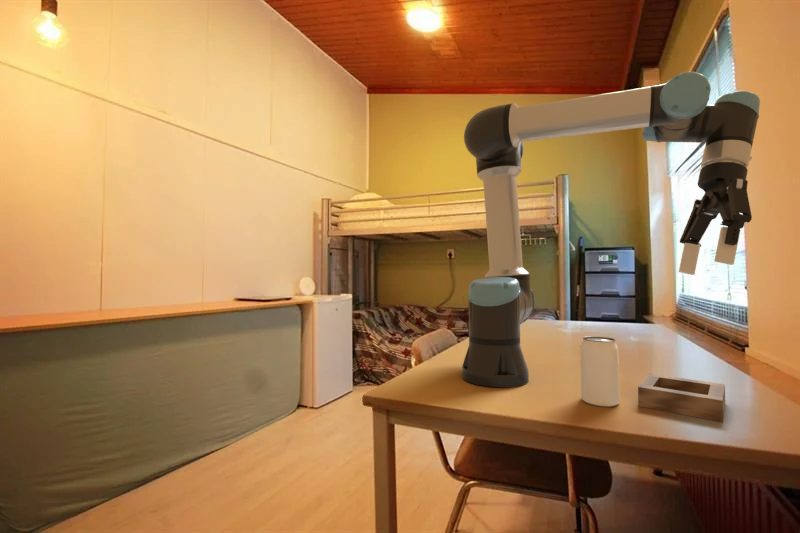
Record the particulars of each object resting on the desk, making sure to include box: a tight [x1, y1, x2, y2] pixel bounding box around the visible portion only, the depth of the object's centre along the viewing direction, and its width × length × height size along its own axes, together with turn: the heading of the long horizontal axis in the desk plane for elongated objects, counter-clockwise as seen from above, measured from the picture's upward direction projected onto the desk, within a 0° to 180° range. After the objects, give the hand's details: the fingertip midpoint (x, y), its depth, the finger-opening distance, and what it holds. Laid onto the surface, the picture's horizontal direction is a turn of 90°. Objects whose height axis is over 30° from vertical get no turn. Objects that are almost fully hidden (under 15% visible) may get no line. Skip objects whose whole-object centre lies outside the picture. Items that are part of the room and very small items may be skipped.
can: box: [580, 335, 620, 408], centre depth 74 cm, size 6×6×12 cm
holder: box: [637, 373, 726, 423], centre depth 72 cm, size 12×12×4 cm
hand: (703, 268), depth 77 cm, fingers open, 13 cm apart
